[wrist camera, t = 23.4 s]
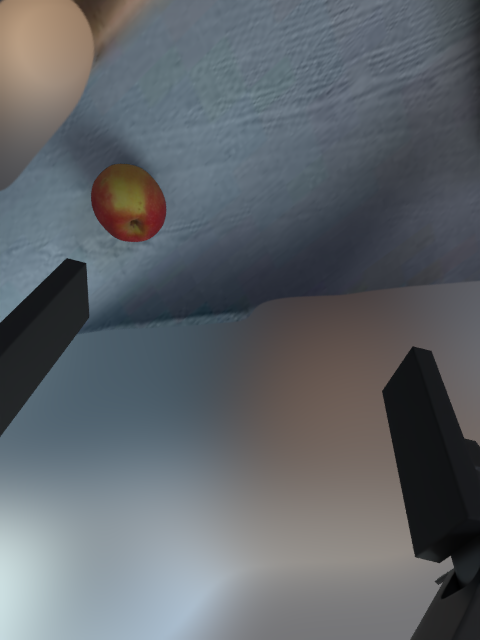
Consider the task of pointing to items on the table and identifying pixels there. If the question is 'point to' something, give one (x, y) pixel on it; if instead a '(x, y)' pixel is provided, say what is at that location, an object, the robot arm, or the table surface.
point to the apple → (128, 203)
